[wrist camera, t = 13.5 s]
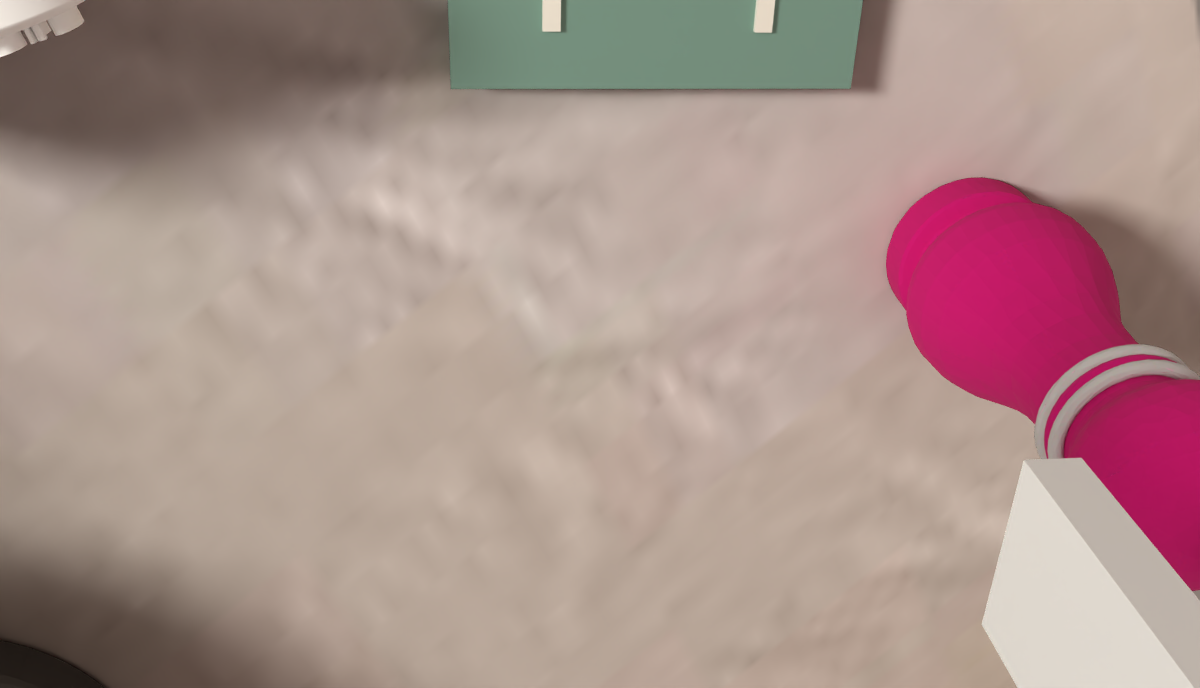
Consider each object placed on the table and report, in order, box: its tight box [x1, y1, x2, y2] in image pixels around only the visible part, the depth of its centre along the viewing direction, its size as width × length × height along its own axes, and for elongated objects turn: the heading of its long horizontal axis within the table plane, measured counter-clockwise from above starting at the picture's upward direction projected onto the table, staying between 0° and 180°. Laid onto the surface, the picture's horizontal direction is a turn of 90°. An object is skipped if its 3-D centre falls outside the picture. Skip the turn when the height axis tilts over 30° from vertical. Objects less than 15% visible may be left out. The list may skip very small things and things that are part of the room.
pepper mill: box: [886, 178, 1200, 591], centre depth 37 cm, size 7×7×20 cm
